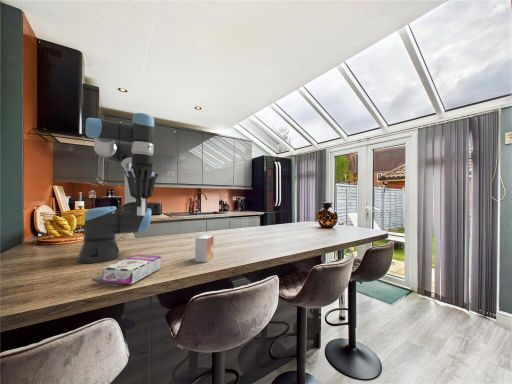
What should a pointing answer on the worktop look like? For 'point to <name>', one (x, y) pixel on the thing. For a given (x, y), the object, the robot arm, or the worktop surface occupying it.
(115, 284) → the mat
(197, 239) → the small box
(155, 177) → the robot arm
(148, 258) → the candy bar box
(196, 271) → the worktop surface
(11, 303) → the worktop surface
